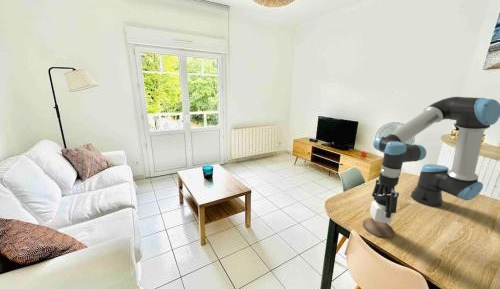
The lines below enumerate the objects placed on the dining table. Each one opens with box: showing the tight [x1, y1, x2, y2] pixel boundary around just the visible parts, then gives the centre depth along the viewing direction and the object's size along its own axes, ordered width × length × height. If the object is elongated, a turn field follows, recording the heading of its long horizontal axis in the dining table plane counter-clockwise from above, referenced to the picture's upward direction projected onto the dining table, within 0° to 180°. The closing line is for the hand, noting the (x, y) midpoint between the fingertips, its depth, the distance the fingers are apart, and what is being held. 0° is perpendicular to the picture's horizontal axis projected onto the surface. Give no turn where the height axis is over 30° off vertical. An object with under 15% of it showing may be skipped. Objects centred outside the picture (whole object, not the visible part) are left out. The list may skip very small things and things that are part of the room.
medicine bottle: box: [369, 194, 394, 224], centre depth 101 cm, size 7×7×12 cm
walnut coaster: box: [362, 217, 394, 239], centre depth 104 cm, size 13×13×1 cm
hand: (379, 216), depth 102 cm, fingers closed on medicine bottle, 8 cm apart
